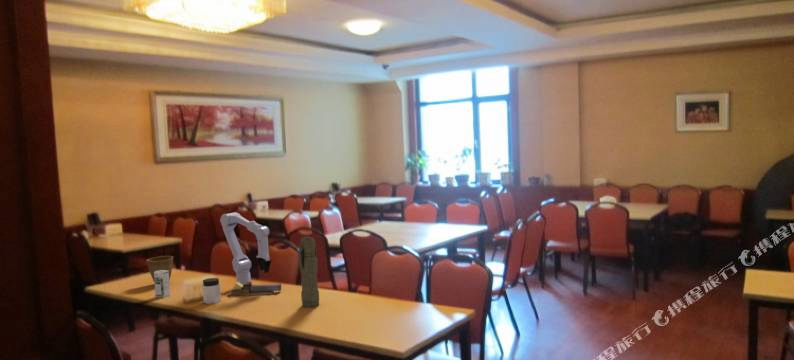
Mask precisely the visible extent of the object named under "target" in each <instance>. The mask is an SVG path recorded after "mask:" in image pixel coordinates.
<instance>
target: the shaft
mask: <svg viewBox="0 0 794 360" xmlns="http://www.w3.org/2000/svg"><path fill="white" fill-rule="evenodd" d="M260 291H274V292H277V291H278V292H281V291H282V283H277V284H254V285H253V284H252V285H249V292H260Z"/></svg>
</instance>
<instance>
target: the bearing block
mask: <svg viewBox="0 0 794 360" xmlns="http://www.w3.org/2000/svg"><path fill="white" fill-rule="evenodd" d="M252 283H253V282H252V281H249V282H245V283H244V284H243V288H242V289H241V290H232V289H231V290H230V292H229V293H228V294H226V297H248V296H249V295H253V296H271V295H272V294H274V292H275V291H260V292H249V285H253V284H252ZM249 297H250V296H249Z"/></svg>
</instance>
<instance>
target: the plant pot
mask: <svg viewBox="0 0 794 360" xmlns="http://www.w3.org/2000/svg"><path fill="white" fill-rule="evenodd" d="M146 263H147V267H148V271H149V274H150V276H151V278H152V280H153V283H154V284H155V281H154V272H155V271H158V270H166V271H168V270H169V281H170V279H171V277H172V272H173V263H174V256H172V255H160V256H156V257H155V256H154V257H151V258H148V259H146Z"/></svg>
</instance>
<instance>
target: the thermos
mask: <svg viewBox="0 0 794 360" xmlns="http://www.w3.org/2000/svg"><path fill="white" fill-rule="evenodd" d="M297 254H298V267H299V272H300V274H301V275H300V276H301V293H300V295H301V297H300V298H301V305H302V306H301V307H303V308H306V307H310V308H315V306H316V307H318V306H319V305H320V290H319V288H318V271H319V269H318V263H319V262H318V260H319V259H318V246H317V245H316V242H315V239H314V237H313V236H303V237H301V239H300V243H299V249H298V253H297ZM317 305H318V306H317Z"/></svg>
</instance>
